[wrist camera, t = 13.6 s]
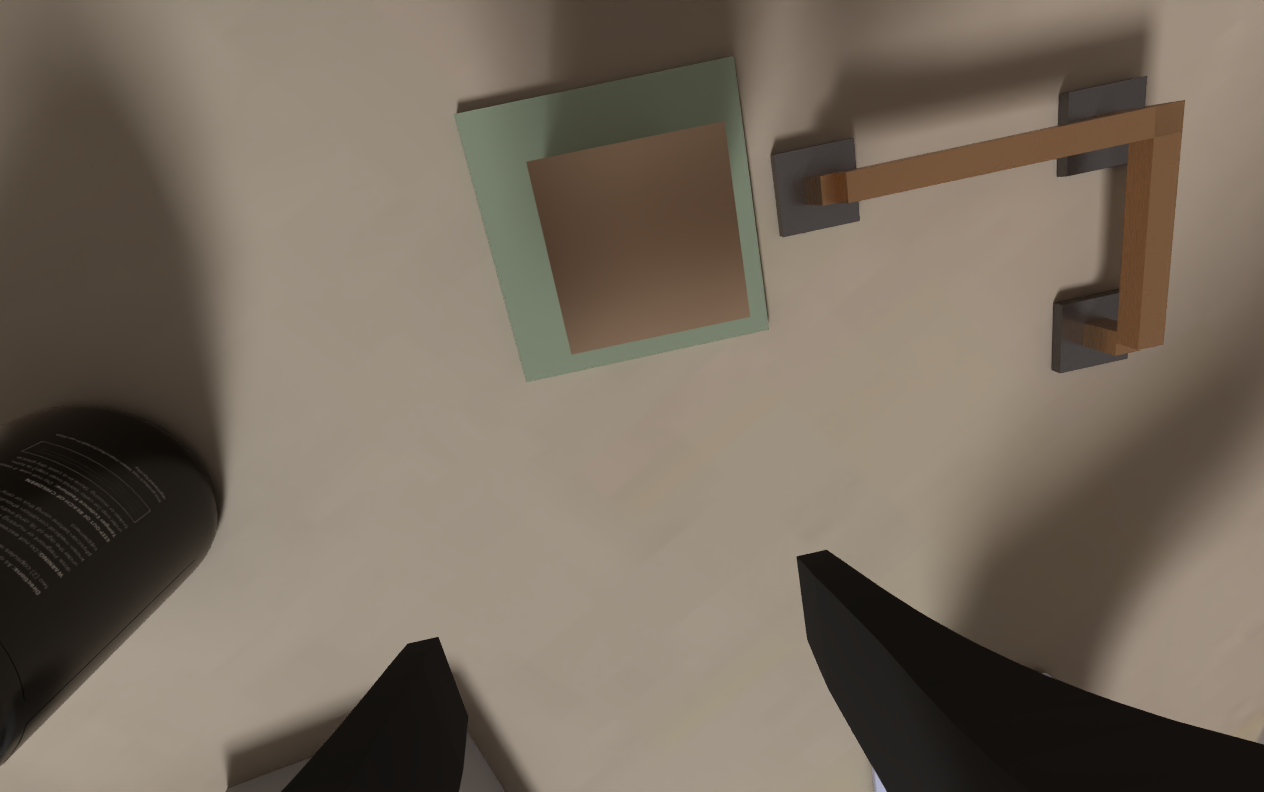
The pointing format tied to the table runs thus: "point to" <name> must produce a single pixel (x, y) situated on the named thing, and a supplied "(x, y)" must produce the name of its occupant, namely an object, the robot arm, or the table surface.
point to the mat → (582, 123)
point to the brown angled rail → (1083, 141)
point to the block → (642, 237)
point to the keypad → (476, 788)
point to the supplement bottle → (87, 548)
